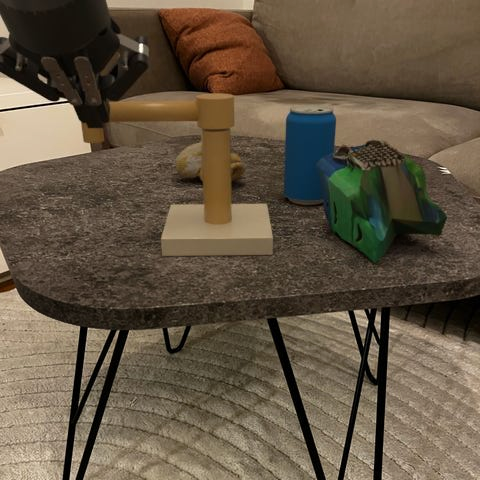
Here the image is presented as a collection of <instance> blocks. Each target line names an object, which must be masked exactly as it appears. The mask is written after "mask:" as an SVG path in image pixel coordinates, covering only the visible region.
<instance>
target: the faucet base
mask: <svg viewBox="0 0 480 480" xmlns="http://www.w3.org/2000/svg"><path fill="white" fill-rule="evenodd" d="M200 142H201V146H202V173H203V182H202V196H203V203H198V204H197V203H196V204H194V203H193V204H191V203H190V204H189V203H187V204H185V203H184V204H170V206H169V209H168V213H167V216H166V220H165V223H164V227H163V229H162V230H163V231H162V233H161V237H160V247H161V249H160V250H161V256H162V257H192V256H193V257H196V256H198V257H199V256H200V257H201V256H202V257H204V256H213V257H214V256H273V255H274V236H273V229H272V225H271V218H270V212H269V207H268V204H267V203H232V202H233V201H232V200H233V196H232V195H233V194H232V191H233V190H232V182H231V153H232V129H231V128H226V129H204V128H200Z"/></svg>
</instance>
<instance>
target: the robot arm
mask: <svg viewBox="0 0 480 480" xmlns="http://www.w3.org/2000/svg"><path fill="white" fill-rule="evenodd" d="M0 18H1V20H2V22H3V24H4V25H5V28H6V30H7V32H8V33H9V34H8V38H7V37H5V36H0V73H1V74H3V75H4V76H6V77H8V78H9V79H12V80H13V81H14V82H17V83H18V84H20V85H21V86H22V87H23V86H24V87H25V88H27V89H28V90H30V91H32V92H34V93H35V94H37V95H39V96H41V97H42V98H44V99H46V100H47V101H49V102H54V103H55V102H58V101H60V100H61V99H64V100H66V101H67V102H68V104H69V105H71V106H72V107H73V109H74V111H75V114H76V116H77V119H78V120H79V122H80V123H81V122H82V123H86V124H87V127H88V128H103V129H105V126H106V125H105V124H109V123H110V122H109V119H110V104H109V102H110V101H111V102H119V101H120V100H121V99H122V97H123V96H124V95H125V94H126V93H127V92H128V91H129V90H130V89H131V88H132V87H133V86H134V84H135V83H136V82H137V81H138V80H139V79H140V78H141V77H142V76H143V75H144V74H145V72H146V71H147V70H148V69H149V60H150V59H149V58H150V54H149V53H150V39H149V38H148V37H147V36H145V35H137V36H135V37H134V38H133V39H132V38H130V37H128V36H126V35H124V34H122V31H121V26H120V24H119V23H118V22H117V21H116V20H115V19H114V18H113V16H112V15H111V13H110V11H109V6H108V3H107V0H0ZM116 53H118V58H117V59H116V60H115V62H113V64H112V65H111V67H109V68H108V70H107V74H104V75H103V73H102V72H103V71H104V70H105V68H106V67H107V66H108V64H109V63H110V61H111V60H112V59H113V57H114V55H115V54H116ZM39 76H41V77H43V78H44V79H46V82H45V81H43V80H42V79H40V78H39ZM109 100H110V101H109Z"/></svg>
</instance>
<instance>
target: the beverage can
mask: <svg viewBox="0 0 480 480" xmlns="http://www.w3.org/2000/svg"><path fill="white" fill-rule="evenodd" d="M334 109H335V108H334V107H332V106H329V105H323V104H322V105H321V104H320V105H319V104H302V105H299V104H298V105H293V106H291V107H289V113H288V114H287V116H286V118H285V140H284V141H285V142H284V174H283V196H285V198H288V200H289V201H290V202H291V203H294V204H297V205H303V206H312V205H313V206H315V205H321V204H324V201H323V195H322V188H321V182H320V177H319V173H318V169H317V163H318V162H319V160H320V159H321V158H323V157H325V156H327V155H330V154H332V153H334V152H335V144H336V143H335V141H336V129H337V117H336V115H335V113H334Z"/></svg>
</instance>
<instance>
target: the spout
mask: <svg viewBox="0 0 480 480" xmlns="http://www.w3.org/2000/svg"><path fill="white" fill-rule="evenodd" d="M109 104H110V119H109V123H140V122H141V123H146V122H147V123H148V122H149V123H151V122H152V123H155V122H196V126H197V128H200V129H202V128H204V129H226V128H230V129H231V128H233V127H235V95H233V94H230V93H219V92H218V93H216V92H215V93H202V94H198V95H196V96H195V100H180V101H179V100H174V101H173V100H172V101H167V100H165V101H164V100H163V101H161V100H159V101H157V100H156V101H155V100H154V101H109ZM80 125H81V133H82V141H83V143H86V144H99V143H103V142H104V141H105V133H104V128H88V127H87V124H86V123H82V122H81V121H80Z"/></svg>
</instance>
